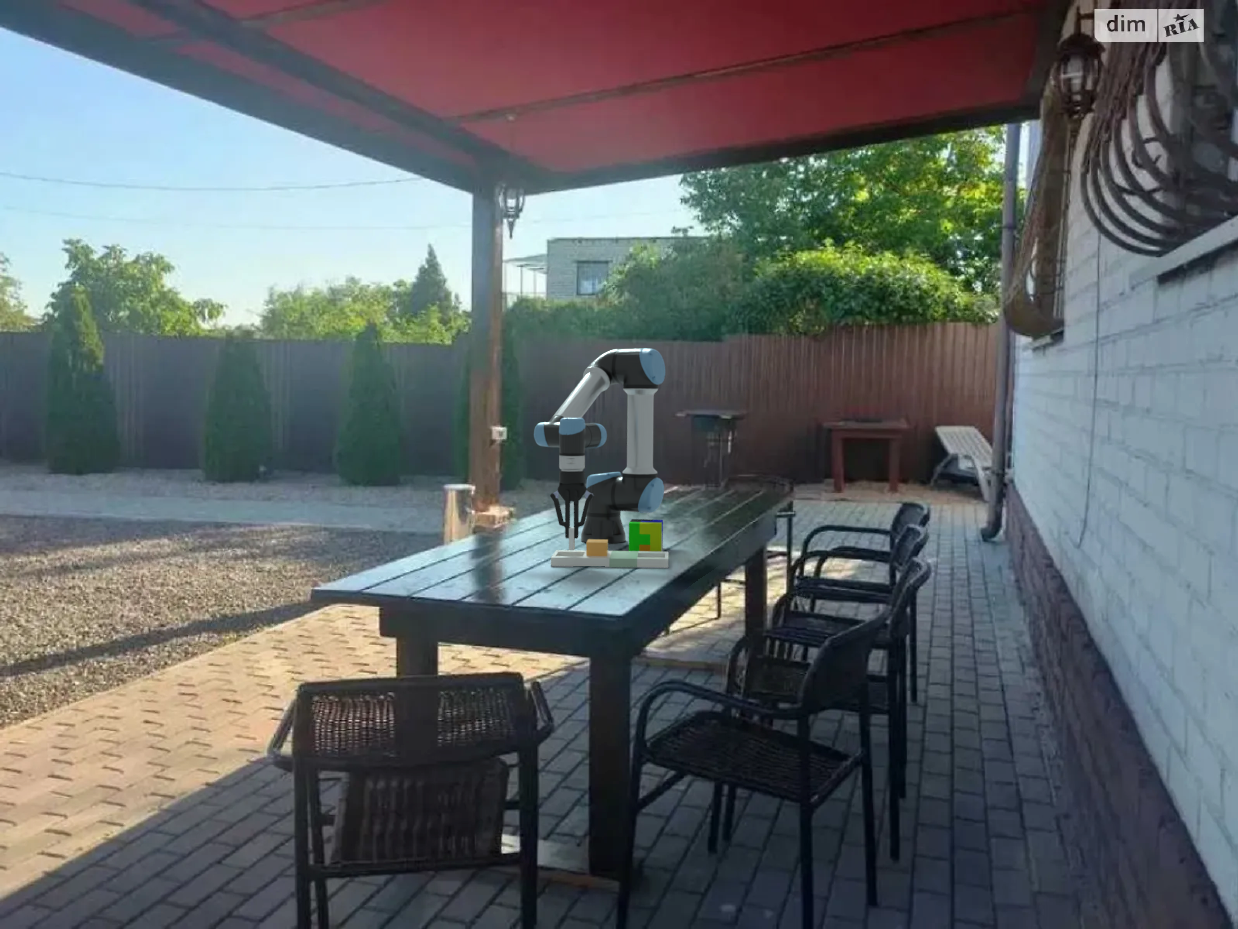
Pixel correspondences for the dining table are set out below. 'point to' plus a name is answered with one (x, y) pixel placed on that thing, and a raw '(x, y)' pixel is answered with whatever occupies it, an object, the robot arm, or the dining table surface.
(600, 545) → the orange block
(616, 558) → the plate
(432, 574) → the dining table surface
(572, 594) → the dining table surface
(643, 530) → the puzzle toy
